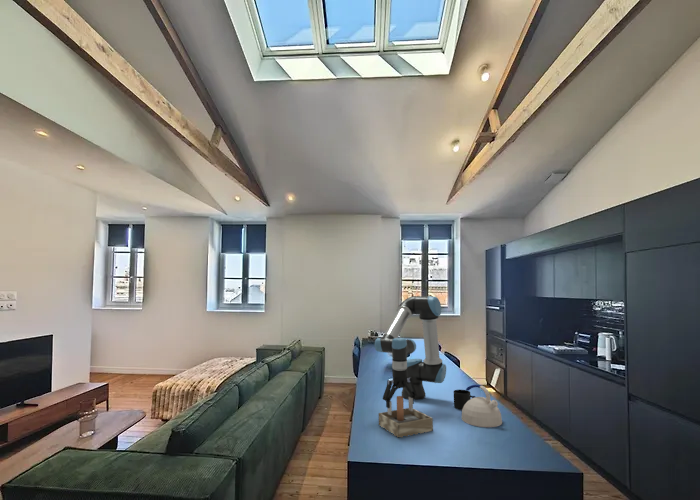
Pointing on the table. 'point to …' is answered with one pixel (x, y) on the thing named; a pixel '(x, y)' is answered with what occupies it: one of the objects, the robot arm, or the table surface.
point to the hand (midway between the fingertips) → (400, 412)
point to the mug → (461, 398)
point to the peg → (400, 408)
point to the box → (406, 423)
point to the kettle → (481, 410)
